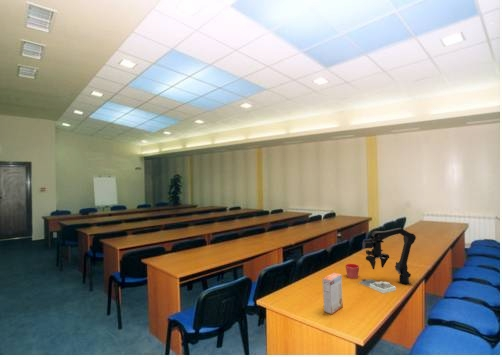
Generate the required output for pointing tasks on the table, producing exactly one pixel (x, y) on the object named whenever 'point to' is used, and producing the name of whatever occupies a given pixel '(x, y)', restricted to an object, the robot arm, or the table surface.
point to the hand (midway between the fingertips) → (377, 268)
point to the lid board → (367, 282)
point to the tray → (392, 288)
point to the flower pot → (352, 270)
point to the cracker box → (332, 293)
